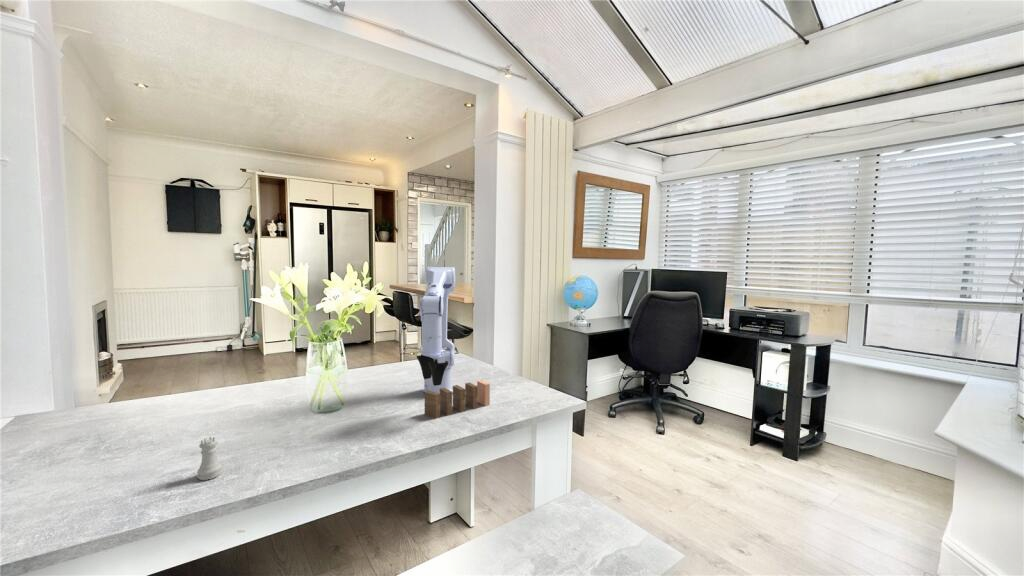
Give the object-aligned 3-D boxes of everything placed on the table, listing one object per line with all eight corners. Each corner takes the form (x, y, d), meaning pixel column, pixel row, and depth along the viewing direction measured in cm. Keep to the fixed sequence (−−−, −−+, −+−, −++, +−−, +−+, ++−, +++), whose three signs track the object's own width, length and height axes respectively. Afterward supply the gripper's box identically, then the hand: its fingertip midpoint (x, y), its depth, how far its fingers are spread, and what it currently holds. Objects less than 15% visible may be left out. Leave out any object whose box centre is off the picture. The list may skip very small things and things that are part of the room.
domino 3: (460, 412, 125) (460, 390, 124) (452, 407, 129) (452, 385, 128) (465, 411, 126) (465, 389, 125) (457, 406, 130) (457, 384, 129)
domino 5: (485, 406, 130) (485, 384, 130) (477, 401, 134) (477, 380, 134) (489, 405, 131) (489, 383, 131) (481, 400, 135) (481, 380, 135)
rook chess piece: (205, 470, 90) (204, 435, 89) (227, 470, 90) (225, 434, 89) (191, 481, 85) (190, 444, 85) (214, 480, 86) (212, 444, 85)
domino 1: (436, 418, 120) (436, 395, 119) (424, 414, 123) (424, 391, 122) (440, 416, 121) (440, 393, 121) (428, 413, 124) (428, 390, 124)
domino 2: (447, 415, 122) (447, 392, 122) (439, 410, 126) (439, 388, 126) (452, 414, 123) (452, 391, 123) (444, 409, 127) (444, 387, 127)
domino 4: (473, 409, 127) (473, 387, 127) (465, 404, 131) (465, 383, 131) (477, 408, 128) (477, 386, 128) (469, 403, 132) (469, 382, 132)
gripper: (454, 339, 116) (455, 385, 117) (434, 331, 128) (435, 373, 129) (431, 341, 112) (431, 390, 113) (413, 333, 125) (413, 377, 126)
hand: (432, 381), depth 121 cm, fingers open, 7 cm apart
